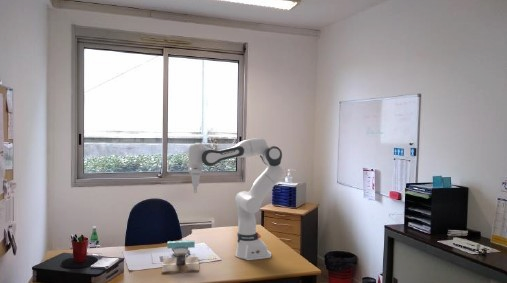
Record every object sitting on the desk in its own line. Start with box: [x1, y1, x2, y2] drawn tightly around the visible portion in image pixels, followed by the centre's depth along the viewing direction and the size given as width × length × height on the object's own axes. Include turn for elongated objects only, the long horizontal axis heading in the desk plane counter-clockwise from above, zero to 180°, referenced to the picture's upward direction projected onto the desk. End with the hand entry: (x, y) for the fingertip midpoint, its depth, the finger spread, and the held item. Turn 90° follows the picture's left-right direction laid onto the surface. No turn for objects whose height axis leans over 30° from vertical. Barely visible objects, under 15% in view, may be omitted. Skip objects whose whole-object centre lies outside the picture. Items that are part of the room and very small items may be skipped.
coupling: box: [166, 240, 196, 257], centre depth 209 cm, size 8×15×7 cm, turn 100°
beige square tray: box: [161, 255, 200, 275], centre depth 210 cm, size 20×20×7 cm
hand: (195, 191), depth 230 cm, fingers open, 8 cm apart
